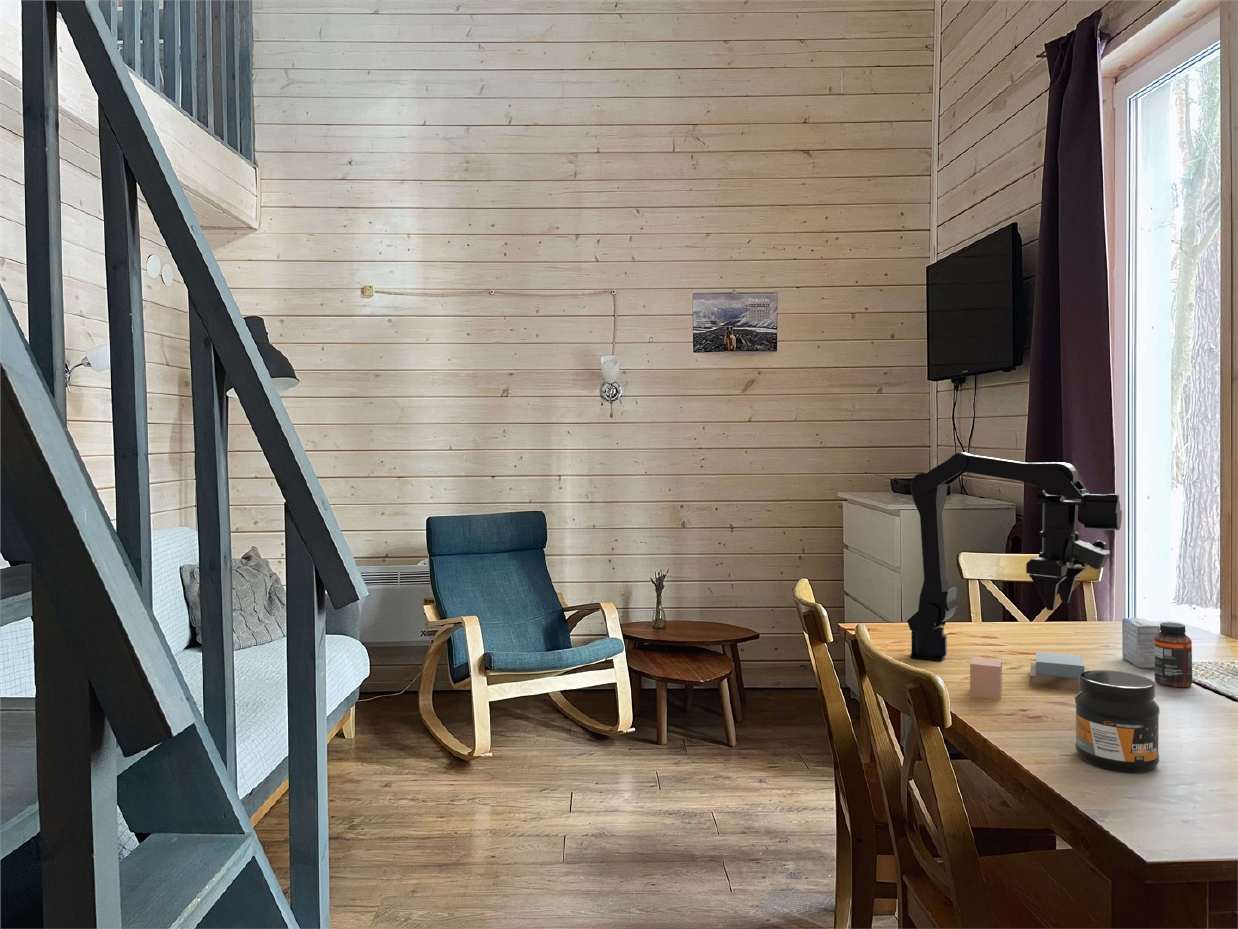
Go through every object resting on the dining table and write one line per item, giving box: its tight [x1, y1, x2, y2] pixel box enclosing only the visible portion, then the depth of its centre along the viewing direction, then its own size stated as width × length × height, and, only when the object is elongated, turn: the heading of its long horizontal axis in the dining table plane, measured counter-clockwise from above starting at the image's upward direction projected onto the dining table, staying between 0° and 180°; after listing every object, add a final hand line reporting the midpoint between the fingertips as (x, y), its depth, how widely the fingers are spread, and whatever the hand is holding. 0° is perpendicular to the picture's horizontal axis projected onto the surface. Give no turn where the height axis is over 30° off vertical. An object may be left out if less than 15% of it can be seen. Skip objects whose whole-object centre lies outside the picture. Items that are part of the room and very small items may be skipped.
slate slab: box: [1035, 651, 1085, 679], centre depth 160 cm, size 8×8×2 cm
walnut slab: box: [1029, 662, 1090, 692], centre depth 159 cm, size 10×10×2 cm
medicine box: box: [1121, 617, 1161, 669], centre depth 171 cm, size 8×4×9 cm, turn 168°
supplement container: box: [1074, 669, 1161, 773], centre depth 121 cm, size 10×10×12 cm
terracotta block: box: [969, 657, 1003, 701], centre depth 152 cm, size 5×5×6 cm
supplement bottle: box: [1154, 621, 1193, 688], centre depth 157 cm, size 6×6×11 cm
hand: (1057, 606), depth 163 cm, fingers open, 9 cm apart
